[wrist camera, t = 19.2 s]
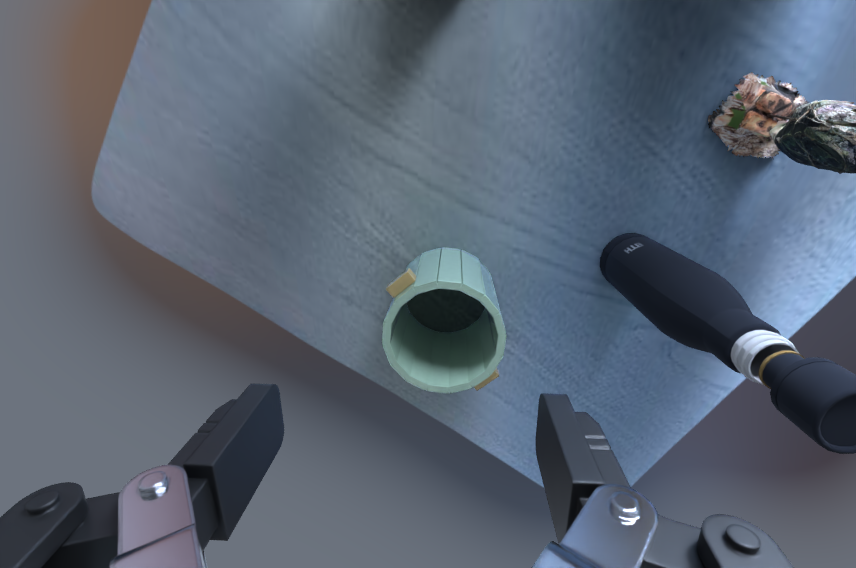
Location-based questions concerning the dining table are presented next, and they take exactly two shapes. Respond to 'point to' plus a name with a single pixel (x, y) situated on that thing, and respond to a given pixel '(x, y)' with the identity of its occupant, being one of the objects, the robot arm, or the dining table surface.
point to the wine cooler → (440, 351)
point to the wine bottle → (733, 336)
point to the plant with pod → (787, 125)
